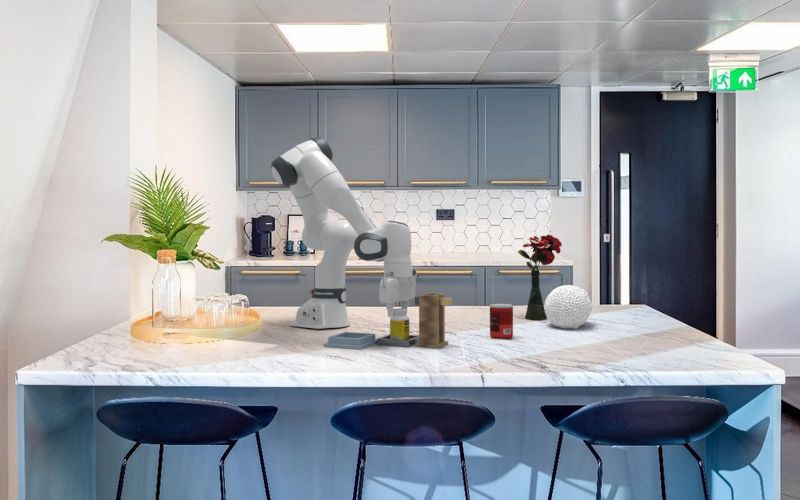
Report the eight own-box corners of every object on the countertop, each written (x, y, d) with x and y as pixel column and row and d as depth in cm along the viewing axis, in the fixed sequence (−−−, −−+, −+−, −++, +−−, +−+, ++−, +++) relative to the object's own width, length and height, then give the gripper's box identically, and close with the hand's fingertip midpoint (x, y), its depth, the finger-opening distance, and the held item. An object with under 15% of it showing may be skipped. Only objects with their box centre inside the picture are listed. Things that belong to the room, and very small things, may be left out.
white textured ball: (583, 334, 212) (583, 287, 212) (535, 330, 221) (535, 285, 221) (598, 327, 229) (598, 283, 228) (552, 323, 238) (552, 282, 238)
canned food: (515, 336, 208) (515, 304, 208) (509, 339, 201) (509, 306, 200) (493, 334, 211) (493, 303, 211) (487, 338, 204) (486, 305, 204)
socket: (376, 345, 192) (376, 338, 192) (391, 339, 202) (391, 333, 202) (409, 347, 187) (409, 340, 187) (422, 341, 197) (422, 335, 197)
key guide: (415, 346, 188) (415, 295, 188) (424, 342, 195) (424, 293, 195) (439, 348, 185) (439, 296, 185) (448, 344, 192) (448, 293, 192)
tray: (323, 346, 189) (323, 337, 189) (343, 340, 201) (343, 331, 201) (361, 349, 184) (361, 339, 184) (379, 342, 196) (379, 333, 196)
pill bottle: (407, 345, 191) (407, 310, 191) (388, 344, 192) (388, 309, 192) (411, 342, 197) (411, 308, 197) (392, 341, 198) (392, 307, 198)
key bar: (414, 305, 190) (414, 296, 190) (419, 303, 194) (419, 295, 194) (448, 306, 186) (448, 298, 186) (452, 305, 189) (452, 296, 189)
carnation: (509, 320, 248) (509, 234, 248) (550, 318, 252) (550, 234, 252) (525, 325, 233) (525, 234, 232) (569, 324, 237) (569, 234, 237)
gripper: (392, 273, 183) (392, 319, 183) (419, 270, 201) (419, 312, 202) (373, 273, 185) (374, 318, 186) (401, 270, 204) (401, 311, 204)
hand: (397, 315), depth 194 cm, fingers open, 8 cm apart
